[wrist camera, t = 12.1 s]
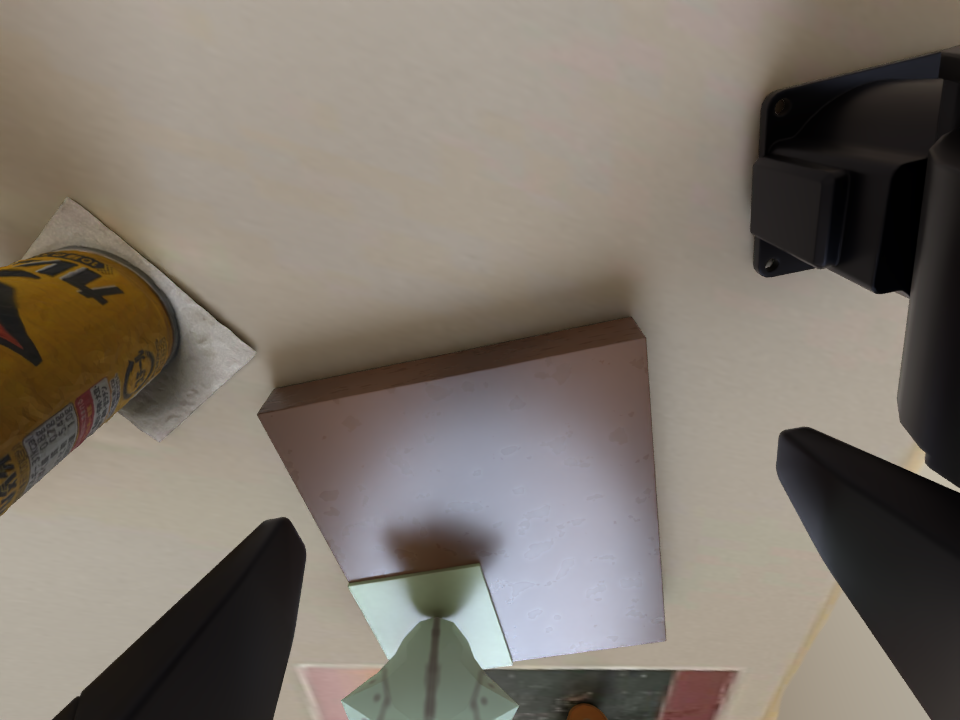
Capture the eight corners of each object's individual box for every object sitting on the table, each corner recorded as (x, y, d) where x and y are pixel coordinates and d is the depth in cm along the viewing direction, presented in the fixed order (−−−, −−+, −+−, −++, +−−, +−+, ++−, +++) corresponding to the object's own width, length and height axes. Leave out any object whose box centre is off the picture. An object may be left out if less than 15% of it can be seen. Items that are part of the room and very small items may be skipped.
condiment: (71, 195, 18) (-513, 345, 7) (259, 351, 21) (40, 612, 10) (-19, 313, 20) (-562, 557, 10) (163, 438, 23) (-95, 724, 13)
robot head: (513, 601, 26) (524, 753, 20) (506, 646, 28) (514, 796, 22) (362, 595, 26) (327, 747, 20) (365, 641, 28) (335, 792, 22)
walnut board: (631, 316, 20) (647, 339, 18) (655, 609, 30) (667, 644, 28) (273, 388, 22) (254, 417, 20) (404, 644, 31) (399, 680, 29)
